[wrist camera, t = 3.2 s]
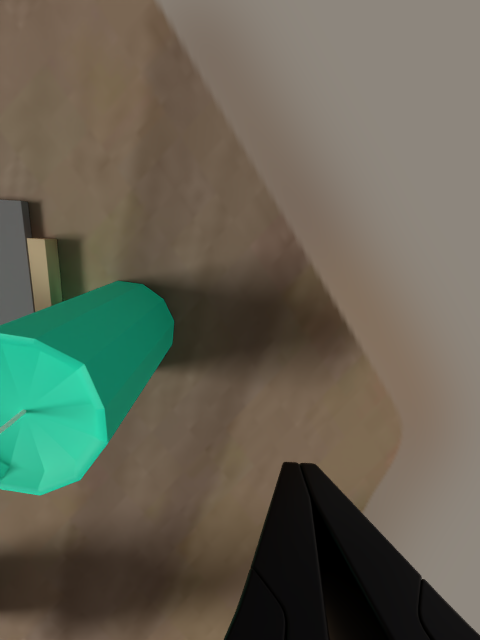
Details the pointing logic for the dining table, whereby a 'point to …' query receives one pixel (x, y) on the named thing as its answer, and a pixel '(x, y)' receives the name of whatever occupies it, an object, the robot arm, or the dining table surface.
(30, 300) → the mat
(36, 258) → the strip
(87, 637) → the dining table surface
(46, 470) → the candle
